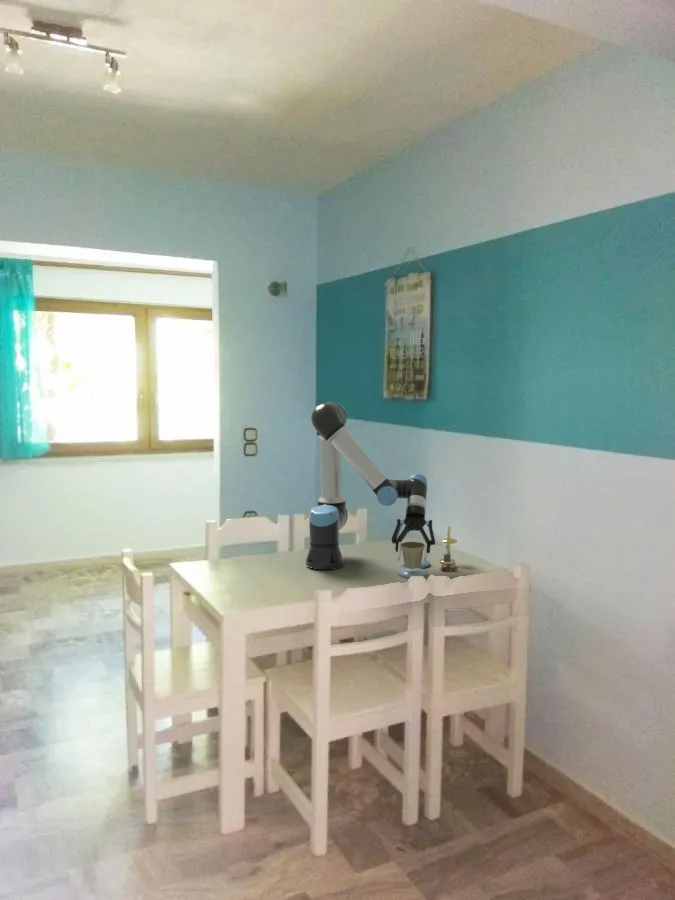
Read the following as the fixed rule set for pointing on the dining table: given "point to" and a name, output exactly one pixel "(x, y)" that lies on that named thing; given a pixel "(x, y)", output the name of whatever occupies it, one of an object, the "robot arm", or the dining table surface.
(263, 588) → the dining table surface
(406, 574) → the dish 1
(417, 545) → the flower pot
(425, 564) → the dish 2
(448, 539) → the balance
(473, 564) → the dining table surface
